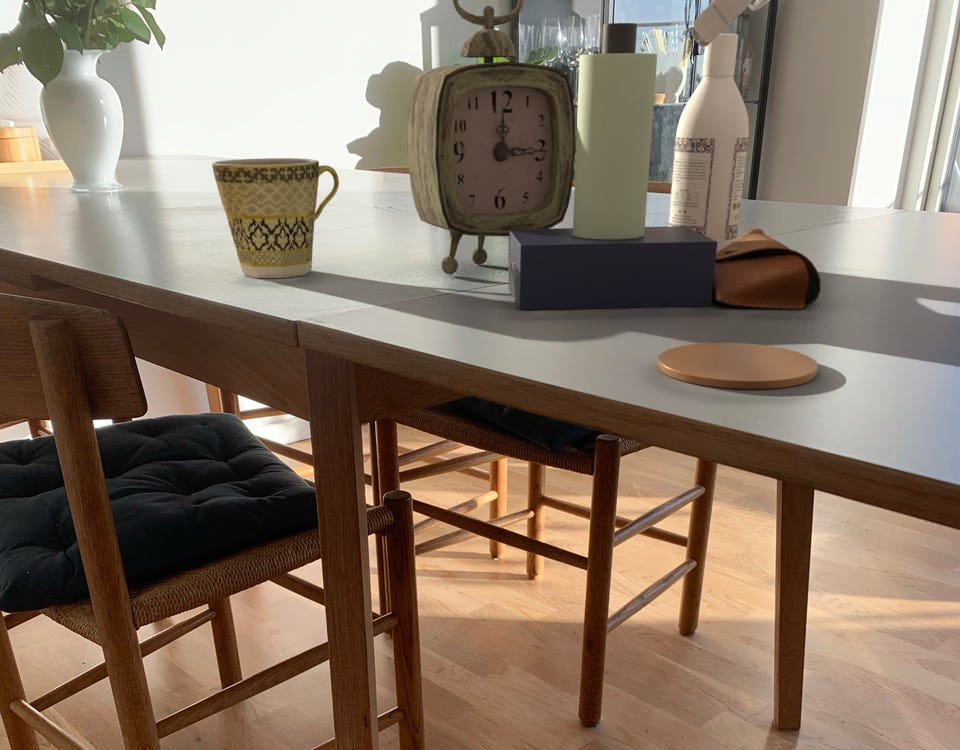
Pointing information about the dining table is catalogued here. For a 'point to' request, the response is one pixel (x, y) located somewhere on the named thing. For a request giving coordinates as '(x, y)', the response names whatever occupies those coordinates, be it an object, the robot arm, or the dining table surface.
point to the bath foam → (711, 149)
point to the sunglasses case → (764, 274)
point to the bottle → (613, 137)
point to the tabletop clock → (490, 141)
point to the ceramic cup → (272, 212)
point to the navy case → (610, 269)
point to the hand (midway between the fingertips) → (697, 38)
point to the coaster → (738, 365)
